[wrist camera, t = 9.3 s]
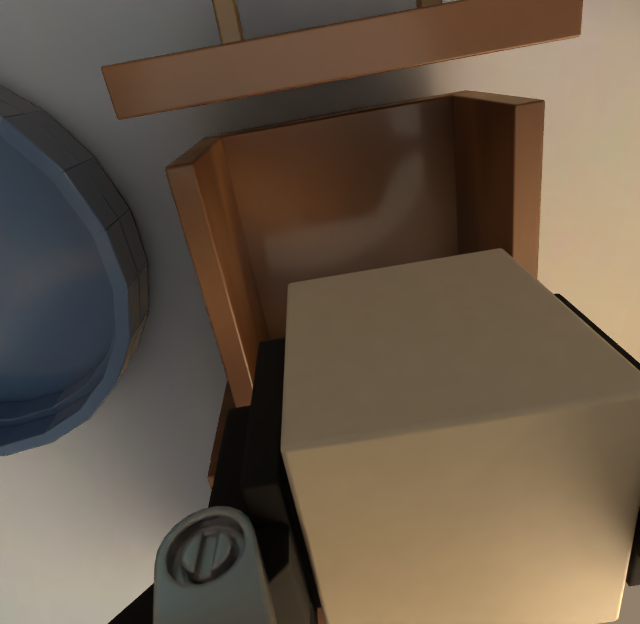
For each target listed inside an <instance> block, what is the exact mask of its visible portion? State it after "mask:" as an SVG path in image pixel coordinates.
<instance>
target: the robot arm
mask: <svg viewBox="0 0 640 624" xmlns="http://www.w3.org/2000/svg"><path fill="white" fill-rule="evenodd" d="M554 295H555V296H556V297H557V298H558V299H559V300H561V301H562V302H563V303H564V304H565V305H566V306H567V307H568V308H569V309H571V310H572V311H573V312H574V313H575V314H576V315H577V316H578V317H580V318H581V319H582V320H583V321H584V322H585V323H586V324H587V325H589V326H590V327H591V328H592V329H593V330H594V331H595V332H596V333H598V334H599V335H600V336H601V337H602V338H603V339H604V340H605V341H607V342H608V343H609V344H610V345H611V346H612V347H613V348H614V349H616V350H617V351H618V352H619V353H620V354H621V355H622V356H623V357H625V358H626V359H627V360H628V361H629V362H630V363H631V364H632V365H634V366H635V367H636V368H637V369H638V370H639V371H640V363H639V362H638V361H636V360H635V359H634V358H633V357H632V356H631V355H629V354H628V353H627V352H626V351H625V350H624V349H623V348H621V347H620V346H619V345H618V344H617V343H616V342H615V341H613V340H612V339H611V338H610V337H609V336H608V335H606V334H605V333H604V332H603V331H602V330H601V329H600V328H598V327H597V326H596V325H595V324H594V323H593V322H592V321H590V320H589V319H588V318H587V317H586V316H585V315H583V314H582V313H581V312H580V311H579V310H578V309H577V308H575V307H574V306H573V305H572V304H571V303H570V302H569V301H567V300H566V299H565V298H564V297H563V296H562V295H560V294H554ZM285 339H286V338H280V339H274V340H268V341H262V342H259V346H258V354H257V361H256V368H255V375H254V382H253V390H252V397H251V404H250V405H249V406H243V407H236V408H231V409H229V410H228V413H227V417H226V422H225V427H224V432H223V437H222V442H221V447H220V452H219V457H218V462H217V466H216V471H215V476H214V481H213V486H212V491H211V496H210V501H209V506H208V508H205V509H202V510H199V511H197V512H195V513H193V514H191V515H189V516H187V517H186V518H184V519H183V520H182V521H180V522H179V523H178V524H176V525H175V526H174V527H173V528H172V530H171V531H170V532H169V533H168V534H167V535H166V536H165V538H164V539H163V541H162V543H161V545H160V547H159V549H158V551H157V555H156V560H155V567H154V583H153V584H152V585H151V586H150V587H149V588H148V589H147V590H146V591H144V592H143V593H142V594H141V595H140V596H139V597H138V598H136V599H135V600H134V601H133V602H132V603H131V604H130V605H128V606H127V607H126V608H125V609H124V610H123V611H122V612H121V613H119V614H118V615H117V616H116V617H115V618H114V619H113V620H111V621H110V622H109V623H108V624H318V611H317V608H322V606H321V603H320V599H319V595H318V591H317V587H316V583H315V580H314V576H313V572H312V568H311V564H310V560H309V557H308V553H307V549H306V545H305V541H304V538H303V534H302V530H301V526H300V522H299V518H298V515H297V511H296V507H295V503H294V499H293V495H292V492H291V488H290V484H289V480H288V476H287V473H286V469H285V465H284V461H283V457H282V453H281V428H282V406H283V384H284V362H285ZM625 581H626V582H627V584H628V585H629V586H635V585H640V507H639V512H638V517H637V523H636V528H635V533H634V538H633V543H632V549H631V554H630V559H629V564H628V570H627V575H626V580H625Z"/></svg>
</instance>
